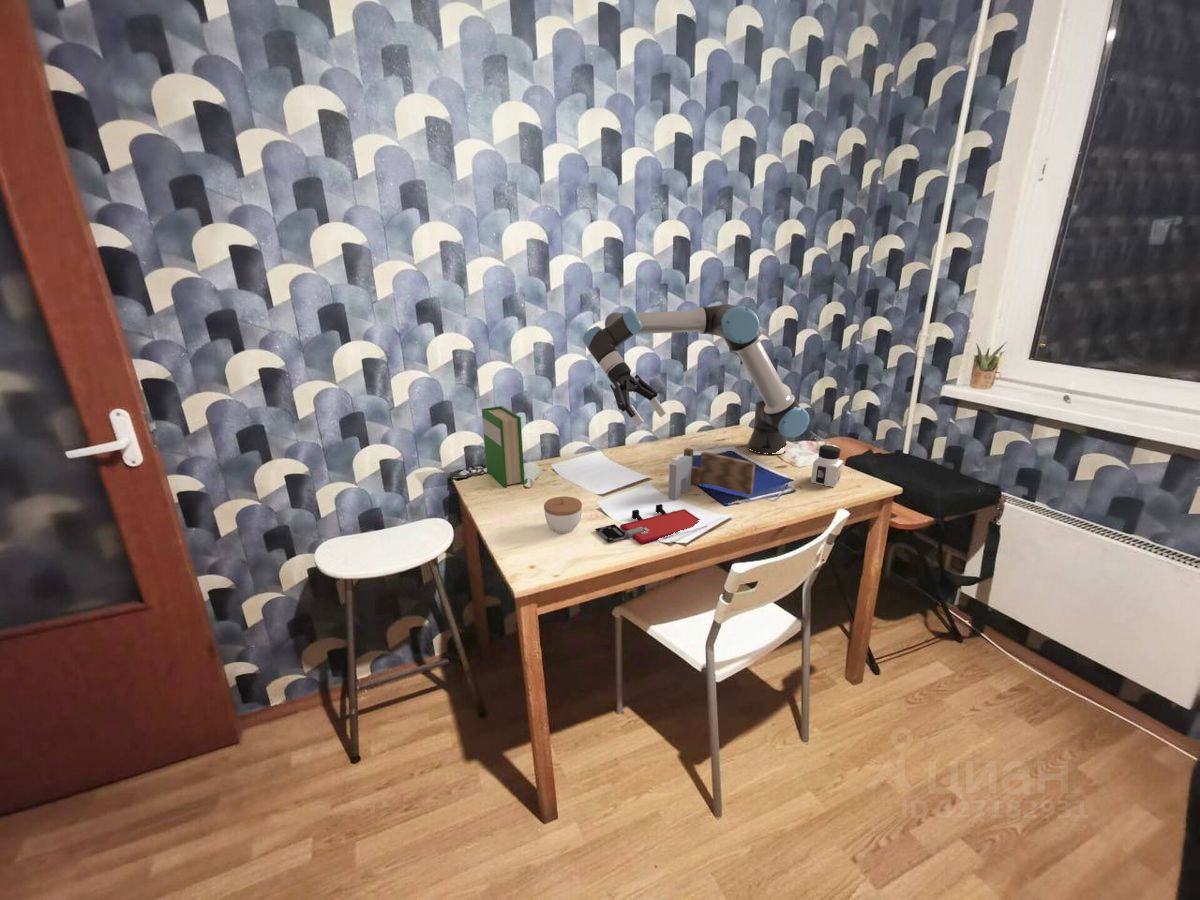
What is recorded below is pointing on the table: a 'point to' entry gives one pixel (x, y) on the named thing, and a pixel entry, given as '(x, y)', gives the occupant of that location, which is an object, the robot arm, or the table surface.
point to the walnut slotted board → (723, 472)
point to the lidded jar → (563, 513)
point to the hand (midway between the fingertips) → (652, 419)
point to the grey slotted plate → (680, 477)
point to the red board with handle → (650, 526)
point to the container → (827, 466)
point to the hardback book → (503, 445)
